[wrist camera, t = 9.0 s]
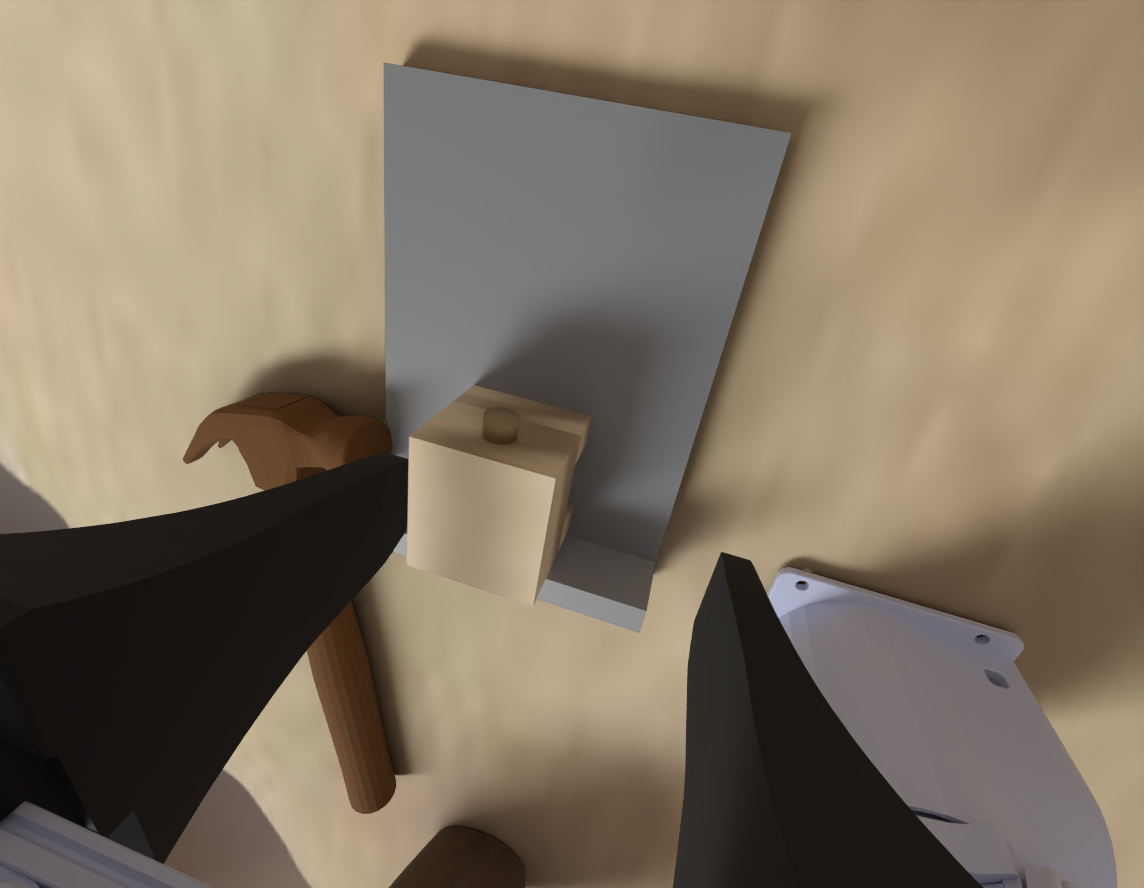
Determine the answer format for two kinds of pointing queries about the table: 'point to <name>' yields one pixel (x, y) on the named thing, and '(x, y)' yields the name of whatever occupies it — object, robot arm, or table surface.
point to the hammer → (338, 656)
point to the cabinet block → (493, 491)
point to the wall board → (569, 289)
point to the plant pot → (463, 863)
